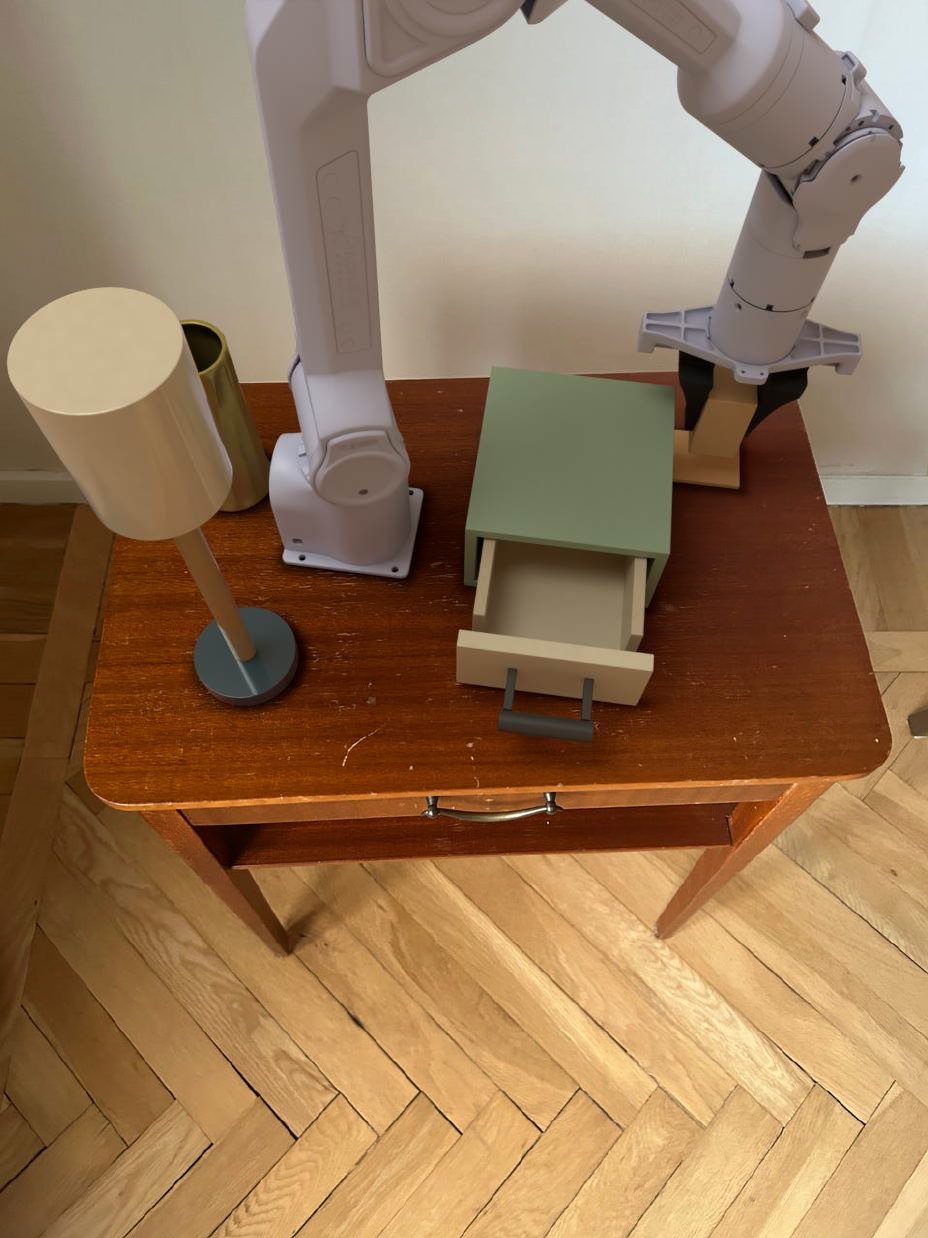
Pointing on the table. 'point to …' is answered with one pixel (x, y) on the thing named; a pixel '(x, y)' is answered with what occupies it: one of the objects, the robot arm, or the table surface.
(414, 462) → the table surface
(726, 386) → the tan wooden block
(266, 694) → the lamp
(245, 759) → the table surface
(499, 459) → the cabinet
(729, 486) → the pad
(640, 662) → the drawer
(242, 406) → the vase
